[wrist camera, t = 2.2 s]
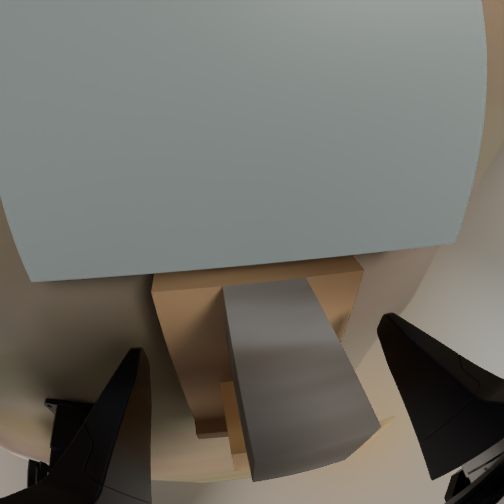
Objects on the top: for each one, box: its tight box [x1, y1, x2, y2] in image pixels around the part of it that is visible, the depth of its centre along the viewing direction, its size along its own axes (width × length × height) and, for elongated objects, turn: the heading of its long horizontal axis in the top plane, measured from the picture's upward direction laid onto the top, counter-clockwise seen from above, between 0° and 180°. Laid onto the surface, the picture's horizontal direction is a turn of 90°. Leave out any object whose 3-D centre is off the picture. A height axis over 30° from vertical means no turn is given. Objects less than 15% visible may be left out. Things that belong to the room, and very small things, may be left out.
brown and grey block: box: [151, 255, 381, 482], centre depth 11 cm, size 12×8×8 cm, turn 179°
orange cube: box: [220, 381, 250, 471], centre depth 12 cm, size 4×4×4 cm
